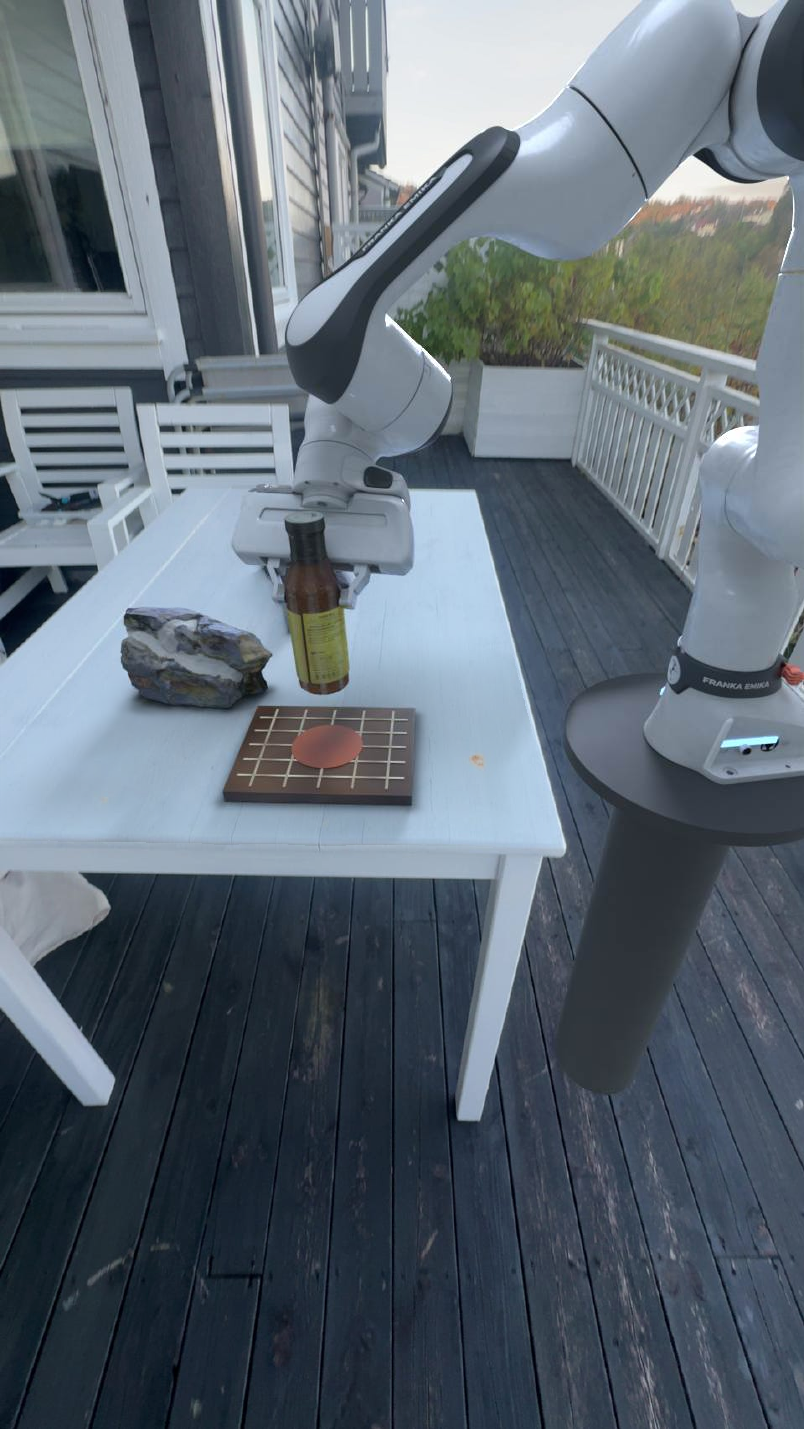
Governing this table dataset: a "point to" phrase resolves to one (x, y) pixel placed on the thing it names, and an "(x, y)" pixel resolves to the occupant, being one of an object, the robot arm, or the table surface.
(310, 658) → the sauce bottle
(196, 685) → the fossil rock
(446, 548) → the table surface
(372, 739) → the grid board
